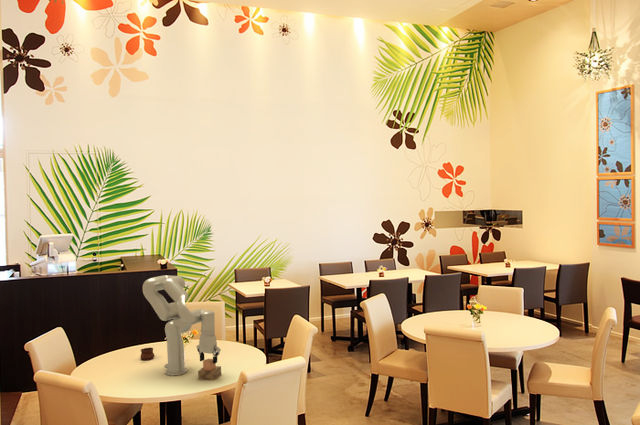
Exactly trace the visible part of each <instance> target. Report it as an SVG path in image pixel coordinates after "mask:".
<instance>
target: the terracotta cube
mask: <svg viewBox="0 0 640 425" xmlns="http://www.w3.org/2000/svg"><path fill="white" fill-rule="evenodd" d="M216 366H217V363H215V364H213V358H206V359H204V360H203V361H202V368H203V369H204V370H212V369H215V368H216Z"/></svg>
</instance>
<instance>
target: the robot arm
mask: <svg viewBox="0 0 640 425" xmlns="http://www.w3.org/2000/svg"><path fill="white" fill-rule="evenodd" d="M185 285H186V281H185V279H184V278H183V276H180V275H159V276H154V277H150V278H148V279H146V280H145V281H144V282H143V284H142V293H143V296H144V297H145V299H146V300H147V301H148V303H149V304H150V305H151V307H152V308H153V310H154V311H155V313H156V314H157V317H158V318H159V320H161V321H165V322H166V324H165V327H164V332H165V336H166V337H165V338H166V347H167V348H166V349H167V350H166V351H167V352H166V353H167V363H165V365H164V366H163V368H165V369H166V370H165V375H167V376H180V375H184V374H186V373H187V372H188V368H187V367H185V344H184V338H183V337H182V334H185V333H187V332H189V331H190V330H191V329H192V327H193V326H192V325H196V324H199V323H201V329H200V333H201V334H200V336H199V342H198V344H197V345H196V346H195V347H196V349H197V352H198V355H199V362H203V361H204V360H205V354H212V359H213V364H215V363H216V364H217V363H218V356H219V355H220V353H221V351H222V350H221V348H220V347H219V346H218V344H217V335H216V332H215V330H216V329H215V328H216V326H215V325H216V322H215V321H216V320H215V318H216V317H215V316H216V315H215V312H214V311H213V310H206V309H203V308H199V309H194V310H190V309H189V308H188V307H187V305H186V301H187V299H189V298H188V297H189V294H188V293H187V291H186V290H185ZM162 290H164V291H165V292H166V293H167V294H168V296H169V297H170V298H171V299H172V300H173V302H170V303H169V302H168V301H167V299H166V298H165V297H164V295H163V294H161V293H159V292H158V291H162ZM167 321H168V322H167Z"/></svg>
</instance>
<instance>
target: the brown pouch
mask: <svg viewBox="0 0 640 425" xmlns="http://www.w3.org/2000/svg"><path fill="white" fill-rule="evenodd" d="M154 358H155V353H154V347H145V348H141V349H140V360H141V361H142V360H143V362H146V361H148V362H149V361H151V360H154ZM148 362H146V364H147V363H148Z"/></svg>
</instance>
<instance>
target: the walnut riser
mask: <svg viewBox="0 0 640 425" xmlns="http://www.w3.org/2000/svg"><path fill="white" fill-rule="evenodd" d="M221 375H222V366H221V365H219V366H218V365H216V368H215V369H212V370H204V369H203V367H201V368H200V369H199V370H197V379H198V381H199V380H201V381H204V380H206V381H207V380H208V381H215V380H216V379H218V378H219V377H220V376H221Z"/></svg>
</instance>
